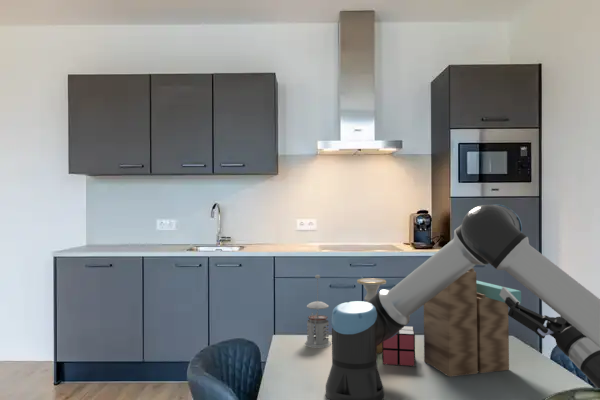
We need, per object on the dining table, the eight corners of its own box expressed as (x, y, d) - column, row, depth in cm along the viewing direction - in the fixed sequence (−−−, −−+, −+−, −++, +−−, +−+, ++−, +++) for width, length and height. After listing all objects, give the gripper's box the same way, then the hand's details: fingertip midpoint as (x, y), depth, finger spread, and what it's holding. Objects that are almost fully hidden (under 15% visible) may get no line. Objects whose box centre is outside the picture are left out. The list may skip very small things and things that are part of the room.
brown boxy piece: (449, 376, 134) (448, 269, 134) (424, 361, 147) (423, 264, 148) (509, 369, 139) (507, 267, 140) (479, 355, 153) (478, 262, 153)
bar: (521, 303, 130) (521, 291, 130) (510, 304, 129) (510, 291, 129) (470, 289, 152) (469, 278, 152) (460, 290, 151) (460, 279, 152)
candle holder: (350, 346, 164) (350, 279, 164) (376, 342, 168) (375, 277, 169) (367, 355, 154) (367, 283, 154) (394, 350, 158) (393, 281, 159)
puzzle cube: (415, 366, 142) (414, 334, 143) (382, 364, 144) (382, 332, 145) (414, 356, 152) (413, 326, 152) (383, 355, 154) (382, 325, 154)
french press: (334, 341, 170) (333, 273, 171) (326, 350, 159) (326, 277, 160) (308, 339, 173) (308, 272, 174) (299, 347, 162) (299, 276, 163)
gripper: (531, 363, 107) (479, 302, 125) (614, 354, 114) (554, 297, 132) (543, 340, 104) (488, 280, 122) (628, 331, 111) (564, 276, 128)
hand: (522, 289), depth 127 cm, fingers open, 13 cm apart
